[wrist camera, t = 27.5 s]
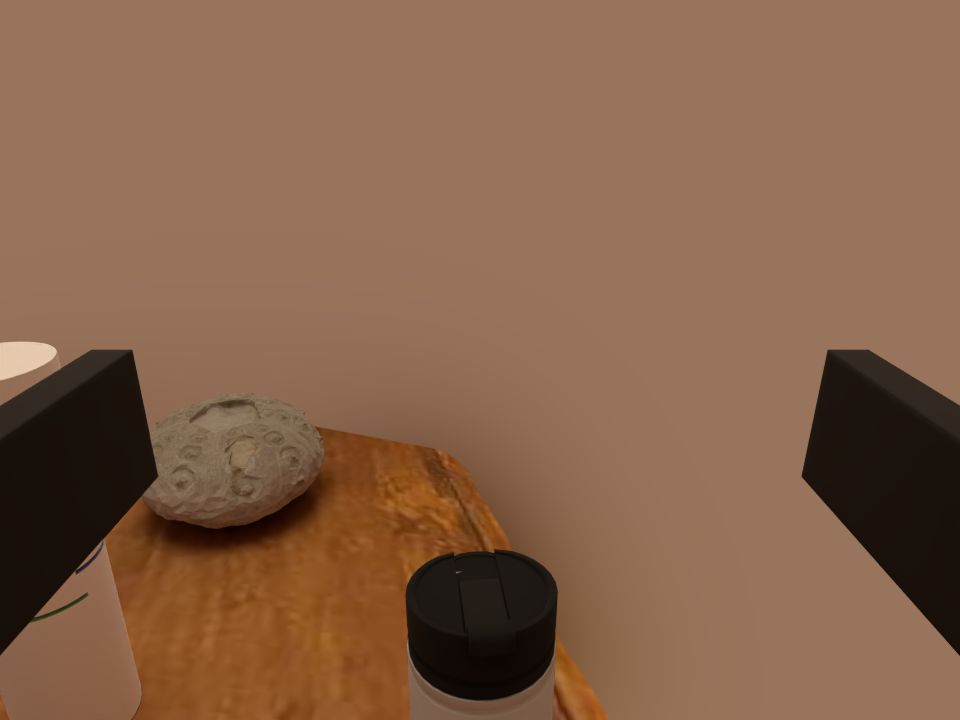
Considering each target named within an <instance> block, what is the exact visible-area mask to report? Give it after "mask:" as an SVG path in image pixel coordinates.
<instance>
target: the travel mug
mask: <svg viewBox="0 0 960 720" xmlns="http://www.w3.org/2000/svg"><path fill="white" fill-rule="evenodd" d="M557 594H558V591H557V586H556V582H555V580H554V579H553V577H552V575H551V574H550V572H549V571H548V570H547V569H546V568H545V567H544V566H542V565H541V564H540V563H538V562H537V561H535V560H533V559H531V558H529V557H527V556H525V555H522V554H519V553H516V552H513V551H506V550H498V549H494V553H491V552H468V553H460V554H458V555H456V556H454V552H453V553H449V554H446V555H442V556H438V557H436V558H434V559H432V560H430V561H428V562H427V563H425V564H424V565H423V566H421V567H420V568H419V569H418V570H417V571H416V572H415V573H414V574H413V576H412V577H411V578H410V581H409V583H408V585H407V589H406V612H407V627H408V641H407V654H408V674H409V693H410V712H411V720H552V713H553V694H554V676H555V654H556V639H555V628H556V613H557Z"/></svg>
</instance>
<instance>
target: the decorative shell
mask: <svg viewBox="0 0 960 720" xmlns="http://www.w3.org/2000/svg"><path fill="white" fill-rule="evenodd" d="M150 438H151V443H152V448H153V453H154V457H155V462H156V467H157V472H158V478H157V479H156V480H155V481H154V482H153V483H152V485H151V486H150V487H149V488H148V489H147V490H146V491H145V492H144V494H143V495H142V496H141V497H142V499H143V501H144V502H145V504H146V505H147V506H148V507H150V508H151V509H152V510H153V511H154V512H155V513H156V514H157V515H159V516H162V517H163V518H165V519H167V520H177V521H185V522H187V523H190V524H196V525H200V526H203V527H206V528H214V529H219V528H223V527H227V526H231V525H232V526H239V525H247V524H249V523H252V522H255V521H257V520H260V519H261V518H263V517H264V516H267V515H269V514H272V513H274V512H276V511H278V510H280V509H281V508H282V507H283V506H285V505H287V504H288V503H289V502H290V501H291V500H293V499H295V498H296V497H298V496H300V495H302V494H303V493H304V492H305V491H306V490H307V489H308V488H309V487H310V485H312V484H313V482H314V481H315V479H316V478H317V476H318V475H319V473H320V471H321V467H322V463H323V461H324V454H325V451H324V448H323V438H322V437H321V436H320V435H319V433H318V432H317V431H316V429H315V427H314V426H313V425H312V424H311V422H310V421H309V419H308V418H307V417H306V416H305V412H304V411H299V410H297V409H296V408H295V407H293V406H291V405H290V404H288V403H286V402H284V401H281V400H278V399H274V398H272V397H264V396H259V395H254V394H253V393H252V392H249V393H247V394H243V393H232V394H228V395H219V396H218V397H214V398H211V399H209V400H205V401H202V402H200V403H198V404H193V405H191V406H185V407H184V408H183V409H182V410H179V411H177V412H174V413H173V414H172V415H171V416H169V417H167V418H166V419H165V420H163V421H162V422H158V423H156V427H155V428H154V430H153V431H152V432H151V434H150Z"/></svg>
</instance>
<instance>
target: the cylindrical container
mask: <svg viewBox="0 0 960 720" xmlns="http://www.w3.org/2000/svg"><path fill="white" fill-rule="evenodd" d="M59 369H61V366H60V362H59V358H58V354H57V351H56V349H55V348H54V347H52V346H50V345H47V344H43V343H36V342H7V343H0V405H2V404H4V403H5V402H7V401H9V400H10V399H12V398H14V397H15V396H17V395H18V394H20V393H22V392H23V391H25V390H27V389H28V388H30V387H32V386H33V385H35V384H36V383H38V382H40V381H41V380H43V379H45V378H46V377H48V376H50V375H51V374H53V373H54V372H56V371H58V370H59ZM0 695H1V698H2V701H3V703H4V706H5V709H6V712H7V715H8V717H9V720H131V719H132V718H133V716H134V715H135V713H136V711H137V709H138V707H139V705H140V701H141V696H142V691H141V685H140V681H139V677H138V673H137V669H136V665H135V661H134V657H133V653H132V649H131V645H130V641H129V637H128V633H127V629H126V625H125V621H124V617H123V613H122V609H121V605H120V601H119V597H118V593H117V589H116V585H115V581H114V577H113V573H112V569H111V565H110V561H109V557H108V553H107V549H106V545H105V541H104V539H103V540H102V541H101V542H100V543H99V545H98V546H97V547H96V548H95V549H94V550H93V551H92V552H91V554H90V555H89V556H88V557H87V558H86V559H85V560H84V561H83V563H82V564H81V565H80V566H79V567H78V568H77V569H76V571H75V572H74V573H73V574H72V575H71V576H70V577H69V578H68V580H67V581H66V582H65V583H64V584H63V585H62V586H61V588H60V589H59V590H58V591H57V592H56V593H55V594H54V595H53V597H52V598H51V599H50V600H49V601H48V602H47V603H46V605H45V606H44V607H43V608H42V609H41V610H40V611H39V612H38V614H37V615H36V616H35V617H34V618H33V619H32V620H31V621H30V623H29V624H28V625H27V626H26V627H25V628H24V629H23V631H22V632H21V633H20V634H19V635H18V636H17V637H16V638H15V640H14V641H13V642H12V643H11V644H10V645H9V646H8V648H7V649H6V650H5V651H4V652H3V653H2V654H1V655H0Z"/></svg>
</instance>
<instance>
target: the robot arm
mask: <svg viewBox="0 0 960 720" xmlns="http://www.w3.org/2000/svg"><path fill="white" fill-rule="evenodd" d="M157 478H158V472H157V467H156V462H155V457H154V453H153V448H152V443H151V438H150V433H149V428H148V424H147V419H146V414H145V409H144V404H143V399H142V395H141V390H140V385H139V380H138V375H137V370H136V366H135V361H134V356H133V351H132V350H91V351H89V352H87V353H86V354H84V355H82V356H81V357H79V358H77V359H76V360H74V361H72V362H71V363H69V364H68V365H66V366H64V367H63V368H61V369H59V370H58V371H56V372H54V373H53V374H51V375H50V376H48V377H46V378H45V379H43V380H41V381H40V382H38V383H36V384H35V385H33V386H32V387H30V388H28V389H27V390H25V391H23V392H22V393H20V394H18V395H17V396H15V397H14V398H12V399H10V400H9V401H7V402H5V403H4V404H2V405H0V655H1V654H2V653H3V652H4V651H5V650H6V649H7V648H8V646H9V645H10V644H11V643H12V642H13V641H14V640H15V638H16V637H17V636H18V635H19V634H20V633H21V632H22V631H23V629H24V628H25V627H26V626H27V625H28V624H29V623H30V621H31V620H32V619H33V618H34V617H35V616H36V615H37V614H38V612H39V611H40V610H41V609H42V608H43V607H44V606H45V605H46V603H47V602H48V601H49V600H50V599H51V598H52V597H53V595H54V594H55V593H56V592H57V591H58V590H59V589H60V588H61V586H62V585H63V584H64V583H65V582H66V581H67V580H68V578H69V577H70V576H71V575H72V574H73V573H74V572H75V571H76V569H77V568H78V567H79V566H80V565H81V564H82V563H83V561H84V560H85V559H86V558H87V557H88V556H89V555H90V554H91V552H92V551H93V550H94V549H95V548H96V547H97V546H98V545H99V543H100V542H101V541H102V540H103V539H104V538H105V537H106V535H107V534H108V533H109V532H110V531H111V530H112V529H113V528H114V526H115V525H116V524H117V523H118V522H119V521H120V520H121V518H122V517H123V516H124V515H125V514H126V513H127V512H128V511H129V509H130V508H131V507H132V506H133V505H134V504H135V503H136V502H137V500H138V499H139V498H140V497H141V496H142V495H143V494H144V492H145V491H146V490H147V489H148V488H149V487H150V486H151V485H152V483H153V482H154V481H155V480H156V479H157ZM802 478H803V479H804V480H805V481H806V482H807V483H808V485H809V486H810V487H811V488H812V489H813V490H814V491H815V492H816V494H817V495H818V496H819V497H820V498H821V499H822V500H823V502H824V503H825V504H826V505H827V506H828V507H829V508H830V509H831V511H832V512H833V513H834V514H835V515H836V516H837V517H838V518H839V520H840V521H841V522H842V523H843V524H844V525H845V526H846V527H847V529H848V530H849V531H850V532H851V533H852V534H853V535H854V537H855V538H856V539H857V540H858V541H859V542H860V543H861V545H862V546H863V547H864V548H865V549H866V550H867V551H868V552H869V554H870V555H871V556H872V557H873V558H874V559H875V560H876V562H877V563H878V564H879V565H880V566H881V567H882V568H883V569H884V571H885V572H886V573H887V574H888V575H889V576H890V577H891V578H892V580H893V581H894V582H895V583H896V584H897V585H898V586H899V588H900V589H901V590H902V591H903V592H904V593H905V594H906V595H907V597H908V598H909V599H910V600H911V601H912V602H913V603H914V605H915V606H916V607H917V608H918V609H919V610H920V611H921V612H922V614H923V615H924V616H925V617H926V618H927V619H928V620H929V621H930V623H931V624H932V625H933V626H934V627H935V628H936V629H937V631H938V632H939V633H940V634H941V635H942V636H943V637H944V638H945V640H946V641H947V642H948V643H949V644H950V645H951V646H952V648H953V649H954V650H955V651H956V652H957V653H958V654H959V655H960V405H958V404H956V403H955V402H953V401H951V400H950V399H948V398H946V397H945V396H943V395H942V394H940V393H938V392H937V391H935V390H933V389H932V388H930V387H928V386H927V385H925V384H923V383H922V382H920V381H919V380H917V379H915V378H914V377H912V376H910V375H909V374H907V373H906V372H904V371H902V370H901V369H899V368H897V367H896V366H894V365H892V364H891V363H889V362H887V361H886V360H884V359H883V358H881V357H879V356H878V355H876V354H874V353H873V352H871V351H870V350H828V351H827V356H826V361H825V366H824V370H823V375H822V380H821V385H820V390H819V395H818V399H817V404H816V409H815V414H814V419H813V424H812V429H811V433H810V438H809V443H808V448H807V453H806V458H805V462H804V467H803V472H802Z"/></svg>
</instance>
